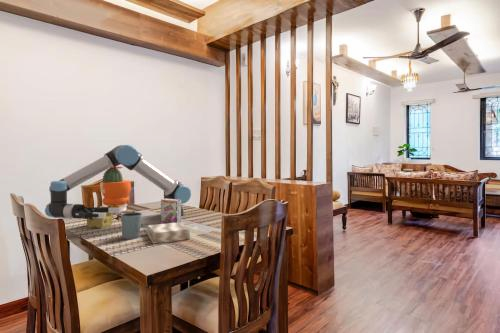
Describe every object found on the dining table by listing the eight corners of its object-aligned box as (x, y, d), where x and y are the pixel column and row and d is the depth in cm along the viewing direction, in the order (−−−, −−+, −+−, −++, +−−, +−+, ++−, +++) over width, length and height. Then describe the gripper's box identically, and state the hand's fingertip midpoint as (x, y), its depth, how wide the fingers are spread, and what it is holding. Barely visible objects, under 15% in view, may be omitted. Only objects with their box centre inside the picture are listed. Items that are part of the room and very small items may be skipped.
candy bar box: (160, 227, 181) (160, 199, 180) (165, 225, 186) (165, 198, 185) (176, 229, 177) (176, 200, 176) (181, 227, 182) (181, 199, 181)
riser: (180, 230, 174) (180, 221, 174) (189, 239, 158) (189, 229, 158) (147, 234, 166) (147, 225, 166) (153, 243, 150) (153, 233, 150)
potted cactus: (92, 213, 218) (92, 163, 216) (111, 207, 240) (111, 162, 238) (120, 214, 215) (120, 164, 213) (137, 208, 237) (137, 162, 235)
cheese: (102, 228, 177) (101, 211, 176) (85, 227, 179) (85, 210, 179) (113, 224, 187) (113, 207, 187) (97, 223, 189) (97, 207, 189)
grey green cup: (116, 238, 158) (116, 214, 158) (131, 233, 168) (130, 211, 167) (132, 240, 155) (132, 216, 154) (146, 235, 164) (145, 212, 163)
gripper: (90, 213, 177) (125, 215, 174) (58, 223, 152) (98, 225, 149) (90, 200, 176) (125, 202, 174) (57, 208, 152) (98, 210, 149)
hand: (112, 213), depth 162 cm, fingers open, 13 cm apart
